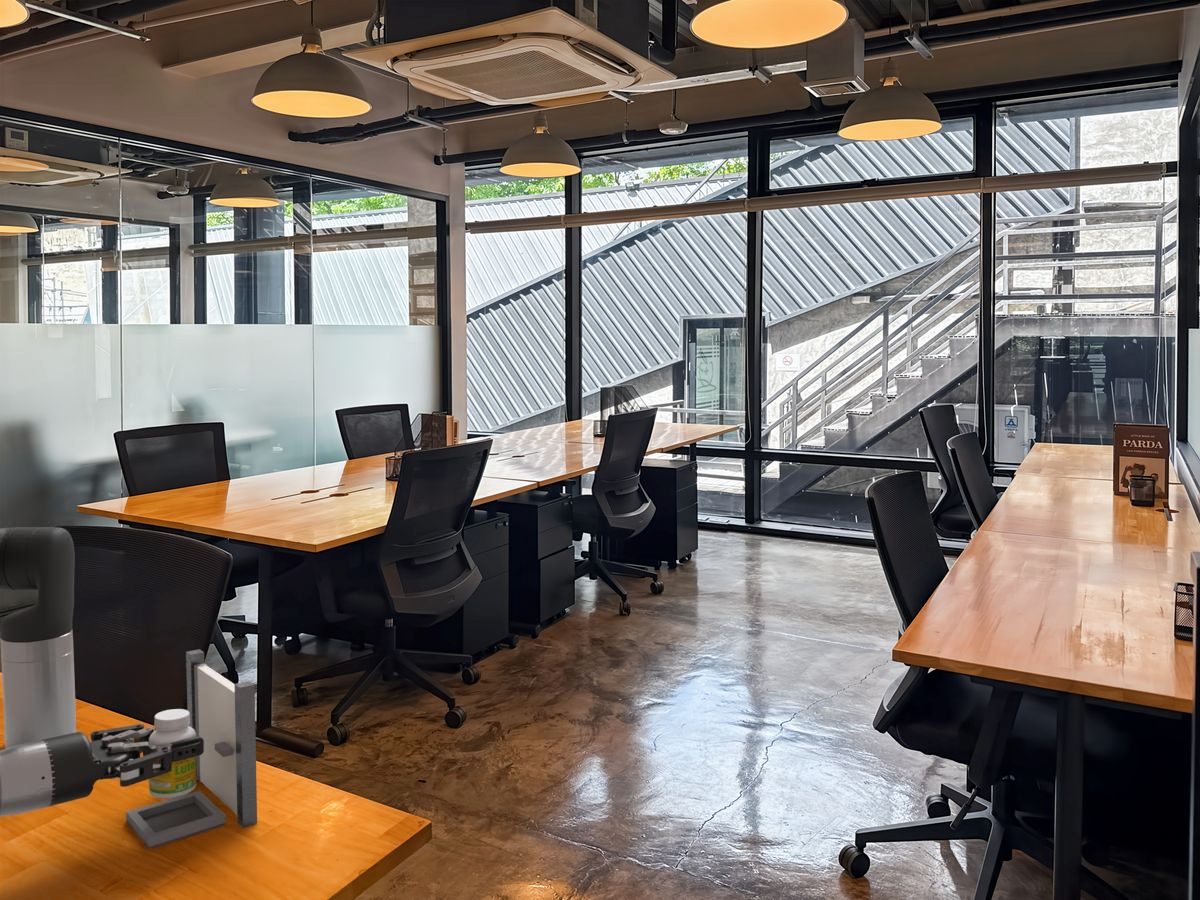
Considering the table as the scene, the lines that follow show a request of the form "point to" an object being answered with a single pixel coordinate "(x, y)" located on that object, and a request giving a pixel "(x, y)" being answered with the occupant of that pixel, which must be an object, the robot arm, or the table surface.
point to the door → (216, 733)
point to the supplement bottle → (183, 771)
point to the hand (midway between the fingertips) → (193, 737)
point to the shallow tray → (175, 819)
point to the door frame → (243, 739)
